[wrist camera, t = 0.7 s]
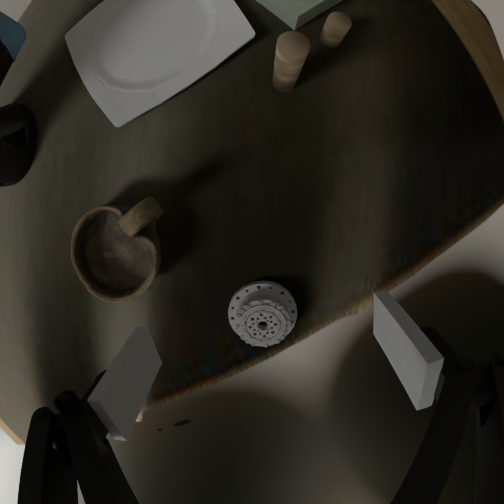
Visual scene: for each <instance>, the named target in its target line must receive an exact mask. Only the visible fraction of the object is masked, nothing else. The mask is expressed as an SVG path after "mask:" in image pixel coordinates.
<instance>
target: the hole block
mask: <svg viewBox="0 0 504 504" xmlns="http://www.w3.org/2000/svg"><path fill="white" fill-rule="evenodd" d="M256 1H257V2H259V3H260V4H261V5H263V6H264V7H265V8H267V9H268V10H269V11H271V12H272V13H273V14H275V15H276V16H277V17H279V18H280V19H281V20H282V21H284V22H285V23H286V24H287V25H288V26H290V27H291V28H292V29H293V30H294V31H295V30H296V29H298V28H299V27H301V26H302V25H304V24H305V23H307V22H308V21H310V20H311V19H313V18H314V17H316V16H318V15H319V14H321V13H322V12H324V11H326V10H327V9H329V8H331V7H332V6H334V5H336V4H338V3H339V2H341V1H343V0H256Z"/></svg>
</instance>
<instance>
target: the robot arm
mask: <svg viewBox="0 0 504 504" xmlns="http://www.w3.org/2000/svg"><path fill="white" fill-rule="evenodd" d="M25 39H26V31H25V29H24V28H23V27H22V26H21V25H20V24H19V23H17V22H16V21H14V20H13V19H11V18H10V17H8V16H7V15H5V14H4V13H2V12H0V86H1V84H2V82H3V80H4V78H5V76H6V74H7V72H8V70H9V69H10V67H11V65H12V63H13V62H15V60H16V56H17V54H18V52H19V50H20V49H21V47H22V45H23V43H24V41H25ZM36 140H37V129H36V122H35V118H34V116H33V113H32V112H31V110H30V109H29V108H28V107H27V106H25V105H21V104H8V105H6V106H3V107H0V187H5V186H10V185H14V184H16V183H18V182H19V181H20V180H21V179H22V178H23V177H24V176H25V174H26V173H27V171H28V169H29V167H30V165H31V163H32V160H33V157H34V153H35V148H36ZM374 335H375V337H376V339H377V340H378V342H379V344H380V345H381V347H382V349H383V351H384V352H385V354H386V356H387V358H388V359H389V361H390V363H391V364H392V366H393V368H394V370H395V372H396V373H397V375H398V377H399V379H400V380H401V382H402V384H403V386H404V387H405V390H406V391H407V393H408V395H409V397H410V399H411V401H412V403H413V404H414V406H415V408H416V410H420V409H423V408H425V407H428V406H431V405H432V402H433V399H434V396H435V398H436V400H437V401H438V402H437V405H436V408H435V411H434V413H433V416H432V419H431V422H430V424H429V427H428V429H427V432H426V434H425V436H424V439H423V441H422V444H421V446H420V448H419V450H418V453H417V455H416V457H415V459H414V461H413V463H412V466H411V467H410V469H409V471H408V473H407V475H406V477H405V479H404V481H403V483H402V485H401V487H400V489H399V490H398V492H397V494H396V495H395V497H394V499H393V501H392V502H391V504H437V502H438V499H439V497H440V495H441V492H442V490H443V488H444V486H445V483H446V481H447V478H448V475H449V473H450V470H451V468H452V465H453V462H454V459H455V456H456V453H457V450H458V447H459V444H460V441H461V437H462V434H463V430H464V426H465V423H466V419H467V414H468V411H469V409H472V408H476V421H477V474H476V488H475V498H474V504H504V351H499V352H496V353H494V354H493V355H492V357H491V359H490V362H486V363H479V364H475V362H474V361H473V360H471V359H470V358H467V357H459V356H458V355H457V354H456V352H455V351H454V350H453V349H452V348H451V347H450V345H449V344H448V343H447V342H445V340H444V339H443V338H442V337H441V335H440V334H439V333H438V332H437V331H436V330H435V329H433V328H431V327H429V326H426V327H423V328H419V327H418V326H417V325H416V324H415V322H414V321H413V320H412V319H411V318H410V317H409V316H408V314H407V313H406V312H405V311H404V310H403V309H402V307H401V306H400V305H399V304H398V303H397V302H396V301H395V300H394V299H393V297H392V296H391V295H390V294H389V293H388V292H387V291H386V290H384V291H379V292H375V293H374ZM161 364H162V362H161V359H160V357H159V355H158V352H157V350H156V347H155V345H154V342H153V339H152V337H151V334H150V332H149V329H148V326H146V327H137V328H136V329H135V330H134V332H133V333H132V335H131V336H130V337H129V339H128V340H127V342H126V343H125V345H124V346H123V347H122V349H121V350H120V352H119V353H118V355H117V356H116V357H115V359H114V360H113V362H112V363H111V365H110V366H109V368H108V369H107V370H104V371H103V372H102V373H100V374H99V375H98V376H97V377H96V379H95V380H94V383H92V385H91V386H90V388H89V389H88V391H87V392H86V394H85V395H84V397H83V398H82V400H81V401H80V399H79V398H78V396H77V394H76V393H75V391H73V390H66V391H63V392H61V393H59V394H58V395H57V396H56V397H55V399H54V404H55V406H56V407H57V409H58V410H59V411H60V413H59V414H53V412H52V411H51V410H50V408H48V407H42V408H39V409H37V410H36V411H35V412H34V413H33V415H32V418H31V422H30V427H29V431H28V435H27V440H26V445H25V450H24V456H23V463H22V468H21V475H20V483H19V492H18V504H78V491H77V480H78V483H79V486H80V489H81V492H82V495H83V498H84V501H85V503H86V504H139V502H138V500H137V499H136V497H135V495H134V494H133V491H132V489H131V488H130V486H129V484H128V482H127V480H126V478H125V476H124V474H123V472H122V470H121V467H120V465H119V463H118V461H117V459H116V457H115V455H114V452H113V450H112V447H111V445H110V443H109V441H108V439H107V438H106V435H107V433H108V432H109V433H110V435H111V436H112V437H113V439H115V440H122V441H127V439H128V437H129V434H130V432H131V430H132V428H133V425H134V423H135V421H136V419H137V416H138V414H139V412H140V410H141V407H142V405H143V403H144V401H145V399H146V396H147V394H148V392H149V390H150V388H151V385H152V383H153V381H154V379H155V377H156V375H157V373H158V370H159V368H160V366H161Z"/></svg>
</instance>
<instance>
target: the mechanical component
mask: <svg viewBox="0 0 504 504" xmlns="http://www.w3.org/2000/svg"><path fill="white" fill-rule="evenodd" d="M228 316H229V321H230V324H231V326H232V328H233V330H234V331H235V332H236V333H237V334H238V335H239V336H240V337H241V339H242V340H245V342H246V343H250V344H251V345H252V346H264V347H267V346H270V345H273V344H276V343H279V342H280V341H281V340H283V339H284V337H285V336H286V335H287V334H288V333H289V332H290V331H291V330H292V328H293V327H294V325H295V322H296V319H297V306H296V303H295V300H294V298H293V296H292V295H291V294H290V292H289V291H288V290H287V289H286V288H284V287H283V286H281V285H280V284H277V283H275V282H271V281H256V282H251V283H249V284H246V285H244V286H243V287H241V288H240V289H239V290H238V291H237V292H236V293H235V294H234V296H233V297H232V299H231V302H230V305H229V310H228ZM261 321H265V322H264V323H261Z"/></svg>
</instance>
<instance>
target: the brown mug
mask: <svg viewBox="0 0 504 504" xmlns="http://www.w3.org/2000/svg"><path fill="white" fill-rule="evenodd" d="M162 214H163V208H162V206H161V205H160V204H159V203H158V202H157V201H156V200H155V199H154V198H152V197H148V198H145V199H143V200H142V201H140V202H139V203H137V204H136V205H135V206H134V207H131V206H127V205H123V204H116V203H112V204H106V205H101V206H97V207H95V208H92V209H90V210H89V211H87V212H86V213H85V214H84V215H83V216H82V217H81V218H80V220H79V221H78V223H77V224H76V226H75V229H74V231H73V234H72V240H71V258H72V263H73V266H74V268H75V271H76V273H77V274H78V276H79V278H80V280H81V281H82V282H83V284H85V286H86V288H87V289H88V290H89V291H90V292H91V293H92V294H93V295H94V296H96V297H97V298H99V299H101V300H104V301H108V302H113V303H124V302H130V301H133V300H136V299H137V298H139V297H140V296H141V295H142V294H143V293H144V292H145V291H147V290H149V289H150V287H151V286H152V284H153V281H154V279H155V277H156V275H157V273H158V271H159V268H160V263H161V247H160V242H159V238H158V235H157V232H156V221H157V220H158V219H159V217H160V216H161V215H162Z"/></svg>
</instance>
